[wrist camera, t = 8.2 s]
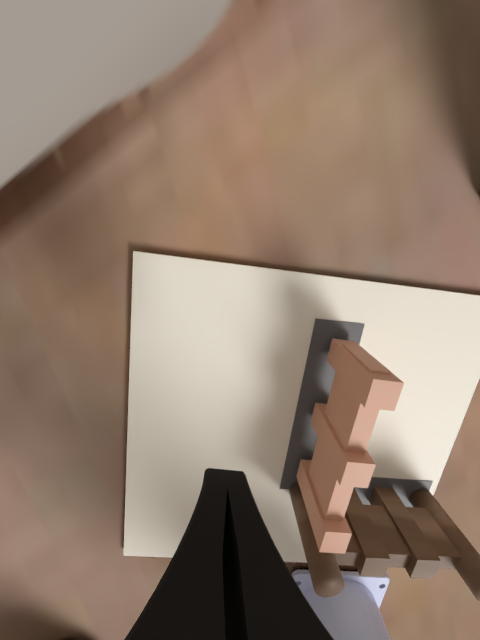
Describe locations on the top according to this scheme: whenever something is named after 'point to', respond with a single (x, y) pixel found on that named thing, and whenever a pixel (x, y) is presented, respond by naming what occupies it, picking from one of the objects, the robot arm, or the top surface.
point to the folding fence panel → (344, 440)
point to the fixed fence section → (390, 540)
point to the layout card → (278, 385)
